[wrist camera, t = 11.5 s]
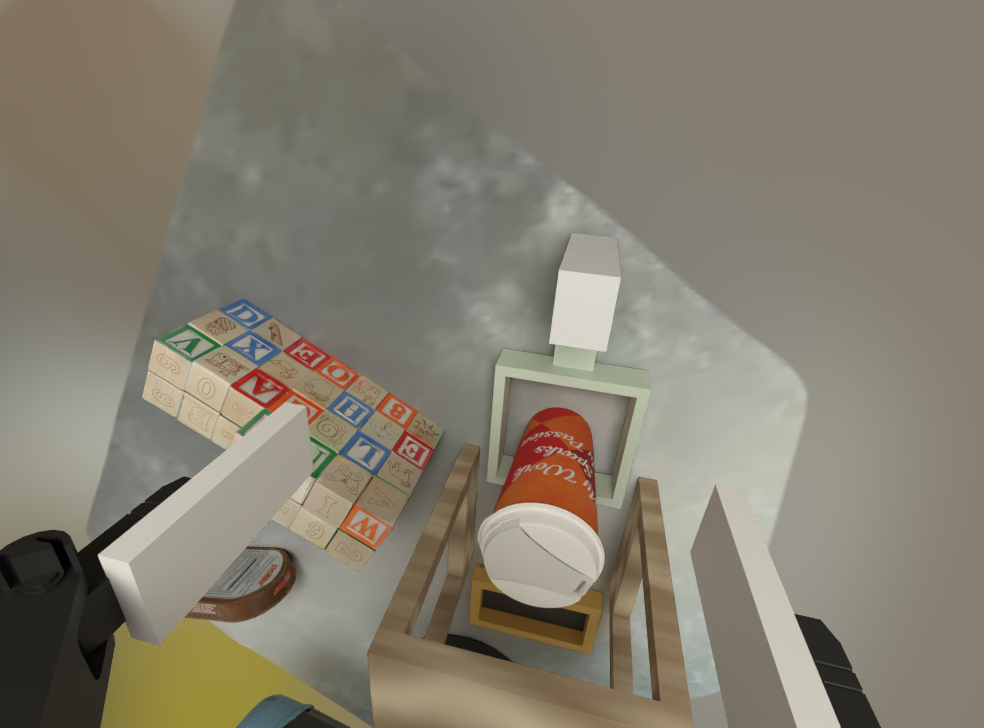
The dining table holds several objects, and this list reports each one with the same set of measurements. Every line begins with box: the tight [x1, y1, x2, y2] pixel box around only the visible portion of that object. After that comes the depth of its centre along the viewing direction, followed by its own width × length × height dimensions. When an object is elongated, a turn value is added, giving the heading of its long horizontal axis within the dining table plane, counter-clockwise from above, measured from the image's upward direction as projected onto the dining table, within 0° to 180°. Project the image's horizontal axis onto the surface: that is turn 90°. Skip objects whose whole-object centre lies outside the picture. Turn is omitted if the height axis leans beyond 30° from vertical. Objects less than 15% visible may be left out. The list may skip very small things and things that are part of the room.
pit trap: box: [469, 564, 602, 655], centre depth 48 cm, size 7×13×2 cm, turn 86°
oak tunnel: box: [367, 444, 694, 728], centre depth 35 cm, size 14×17×20 cm
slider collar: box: [487, 233, 651, 509], centre depth 32 cm, size 20×11×10 cm, turn 176°
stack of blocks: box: [143, 299, 444, 572], centre depth 38 cm, size 21×6×12 cm, turn 58°
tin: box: [184, 547, 296, 623], centre depth 53 cm, size 15×3×8 cm, turn 102°
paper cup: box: [477, 408, 605, 608], centre depth 34 cm, size 8×8×14 cm
